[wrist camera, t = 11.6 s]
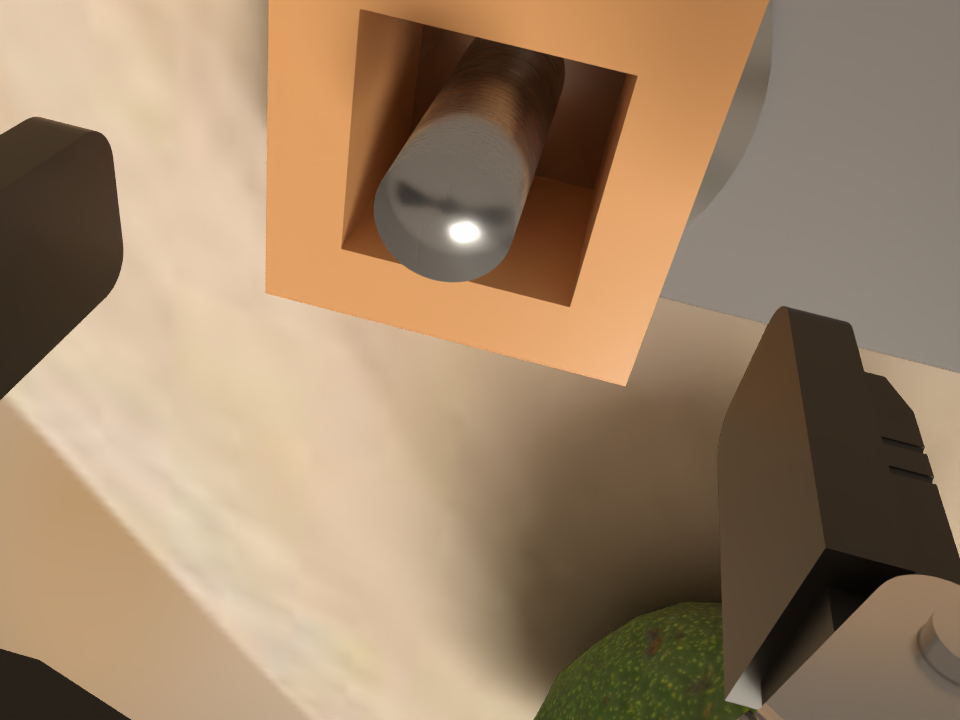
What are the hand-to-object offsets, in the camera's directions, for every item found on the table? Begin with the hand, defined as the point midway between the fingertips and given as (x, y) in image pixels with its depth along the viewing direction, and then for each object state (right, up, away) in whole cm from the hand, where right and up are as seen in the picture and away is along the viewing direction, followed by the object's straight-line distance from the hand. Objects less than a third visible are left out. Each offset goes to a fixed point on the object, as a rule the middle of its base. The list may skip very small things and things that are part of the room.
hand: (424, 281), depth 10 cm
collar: (+1, +4, +5) cm, 6 cm away
